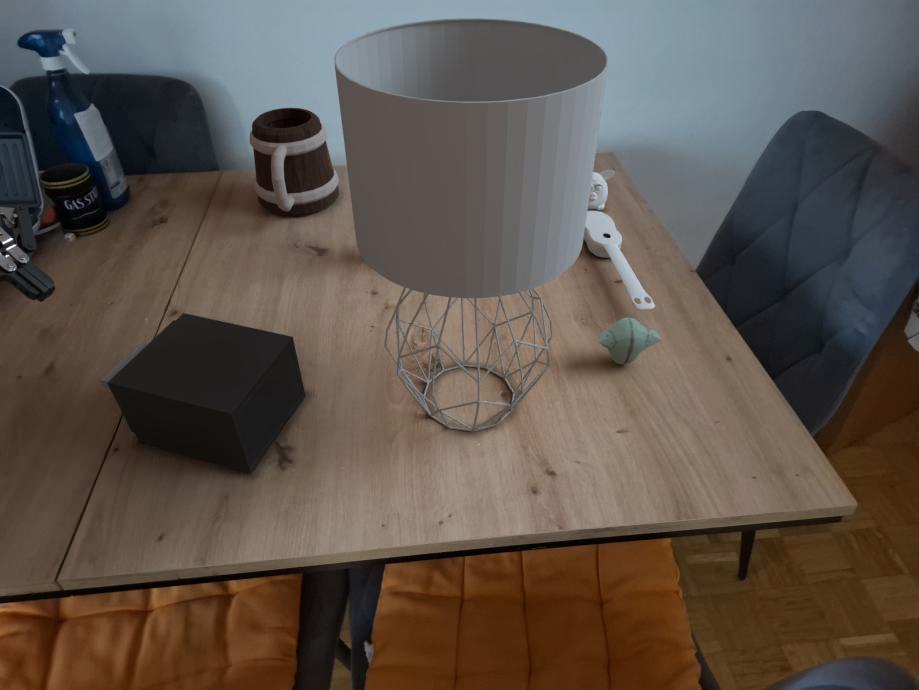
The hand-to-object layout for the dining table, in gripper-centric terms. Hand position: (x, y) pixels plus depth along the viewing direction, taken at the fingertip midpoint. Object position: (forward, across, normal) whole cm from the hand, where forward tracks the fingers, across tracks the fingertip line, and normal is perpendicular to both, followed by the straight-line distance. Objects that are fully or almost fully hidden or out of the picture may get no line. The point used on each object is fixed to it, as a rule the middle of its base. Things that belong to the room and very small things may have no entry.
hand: (48, 295), depth 71 cm
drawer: (+20, 0, +1) cm, 20 cm away
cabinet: (+23, 0, +3) cm, 23 cm away
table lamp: (+42, -12, +22) cm, 49 cm away
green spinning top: (+54, -25, +34) cm, 69 cm away
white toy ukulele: (+52, -46, +31) cm, 76 cm away
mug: (+11, -50, -9) cm, 52 cm away
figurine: (+46, -66, +26) cm, 85 cm away
